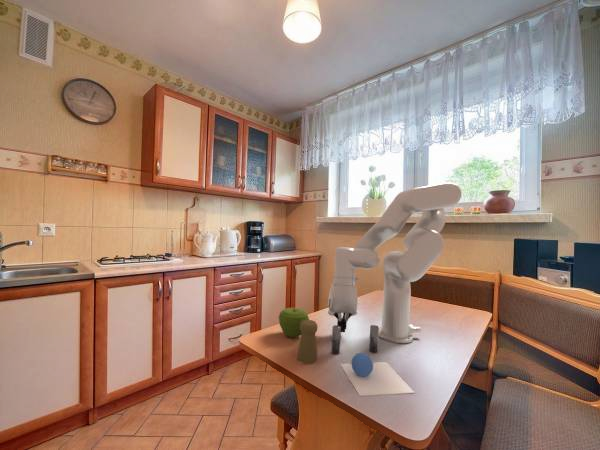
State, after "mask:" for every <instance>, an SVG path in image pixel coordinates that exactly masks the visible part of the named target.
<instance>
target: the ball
mask: <svg viewBox="0 0 600 450" xmlns="http://www.w3.org/2000/svg"><path fill="white" fill-rule="evenodd" d="M351 363H352V368H353V370H354V372H355V373H356V374H357V375H359V376H362V377H365V376H368V375H369V374H371V372H372V370H373V363H374V362H373V360H372V358H371V357H370V356H369V355H368V354H367V353H364V352H358V353H356V354H355V355H354V356H353V357H352V359H351Z"/></svg>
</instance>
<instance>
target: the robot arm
mask: <svg viewBox="0 0 600 450" xmlns="http://www.w3.org/2000/svg"><path fill="white" fill-rule="evenodd" d="M461 189H462V188H461V187H459V185H457V184H456V183H454V182H450V181H449V182H441V183H437V184H432V185H426V186H419V187H413V188H410V189H406V190H403V191H401V192H399V193H398V194H397V195H396V196H395V197H394V198H393V200H392V201H391V202H390V204H389V205H388V207H387V208H386V210H385V211H384V212H383V214H382V215H381V216H380V218H379V219H378V220H377V221H376V223H374V224H373V225H372V226H371V227H370V228H369V229H368V230H367V231H366V232H365V233H364V234H363V236H361V238H360V239H359V240H358V242H357V243H356V245H355V246H354V247H346V246H339V247H336V248H335V252H334V253H335V254H334V270H333V272H334V273H333V282H331V284H330V288H329V293H328V300H327V301H328V302H327V307H328V310H327V314H328V315H329V316H332V317H335V319H337V322H336V325H337V326H340V327H341V333H346V330H347V325H348V324H347V323H348V321H349V319H350V318H351V317H353V316H356V315H358V290H357V285H356V283H357V282H359V278H358V277H356V268H357V269H363V270H373V269H375V268H377V266H378V265H379V263H380V256H379V253H378V252H377V251H376V250H377V249H378V248H379V247H380V246H381V245H382V244H383V243H385V242H386V241H388V240H390V239H392V238H394V237H395V236H397V235H398V234H399V233H400V232H401V231H402V229H403V227H404V226H405V224H406V223H407V221H408V220H410V218H411V217H412V215H413V214H414V213H421V212H422V213H421V216H420V218H419V219H418V220H417V221H416V222H415V224H414V225H413V226H412V228H411V229H410V230H409V231H408V232H407V233H406V235H404V237H403V239H402V247H403V248H404V250H405V251H406V252H404V251H401V250H394V251H393V250H392V251H390V252H388V253H387V254H386V255H385V256H384V257H383V261H382V273H383V274H382V275H383V292H382V311H381V327H379V333H378V337H379V338H381V339H382V340H385V341H387V342H392V343H397V344H409V343H411V342H413V341H414V336H413V334H414V333H421V332H422V328H421V326H414V325H413V324H410V310H411V295H412V294H411V293H412V291H411V290H412V289H411V287H412V286H411V283H414V282H416V281H418V280H420V279H421V278H422V277H423V276H425V274H426V273H427V272H428V271H429V269H430V268H431V267H432V266H433V264H434V263H435V262H436V261H437V260H438V258H439V257H440V255H441V254H442V252H443V250H444V246H445V242H444V241H445V240H444V238H443V236H442V234H441V231H442V230H443V228H444V226H445V225H446V213H445V212H446V211H445V208H450V207H454V206H456V205H457V204H458V203H459V201H460V200H461V199H462V190H461Z"/></svg>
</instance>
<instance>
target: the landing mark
mask: <svg viewBox="0 0 600 450" xmlns="http://www.w3.org/2000/svg"><path fill="white" fill-rule="evenodd" d="M340 366H341V367H342V369H343V371H344V372H345V374H346V376H347V378H348V380H349V381H350V382H351V384H352V386H353V388H354V389H355V391H356V393H357V394H358V396H359V397H371V396H389V395H391V396H392V395H405V394H406V395H407V394H415V391H414V390H413V389H412V388H411V387H410V385H408V384H407V383H406V382H405V380H403V379H402V378H401V376H400V375H398V373H397V372H396V371H395V370H394V369H393V367H391V365H389V364H388V363H387V362H386V361H384V362H383V361H380V362H378V361H377V362H373V370H372V372H371V374H369V375H368V376H365V377H362V376H359V375H357V374H356V373H355V372H354V370H353V368H352V362H351V363H350V362H349V363H340Z"/></svg>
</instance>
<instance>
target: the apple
mask: <svg viewBox="0 0 600 450" xmlns="http://www.w3.org/2000/svg"><path fill="white" fill-rule="evenodd" d="M304 320H310V318H309V315H308V312H307V311H305V310H303V309H302V308H297V307H287V308H285V309H283V310H281V311H280V312H279V315H278V322H279V326H280V329H281V331H282V332H283V334H284V335H286V336H287V337H288V338H290V339H295V338H298V337H301V333H302V332H301V330H300V324H301V322H302V321H304Z"/></svg>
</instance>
